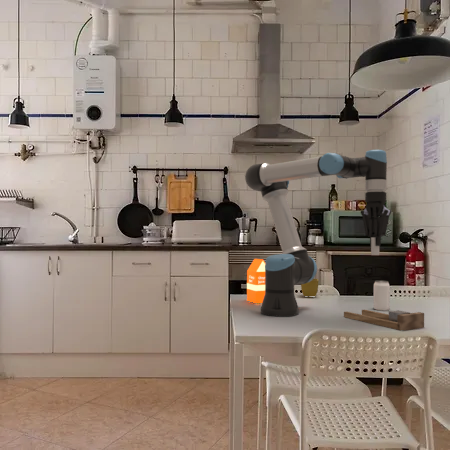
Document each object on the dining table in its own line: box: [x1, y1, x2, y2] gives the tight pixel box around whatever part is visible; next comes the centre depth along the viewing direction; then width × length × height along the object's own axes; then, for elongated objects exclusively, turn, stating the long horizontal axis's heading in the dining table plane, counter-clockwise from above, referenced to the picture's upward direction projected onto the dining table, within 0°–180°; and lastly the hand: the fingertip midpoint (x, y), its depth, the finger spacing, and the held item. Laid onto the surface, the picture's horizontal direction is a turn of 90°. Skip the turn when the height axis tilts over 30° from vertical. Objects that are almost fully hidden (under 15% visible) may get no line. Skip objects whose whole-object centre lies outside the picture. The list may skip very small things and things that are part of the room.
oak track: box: [343, 309, 425, 331], centre depth 165 cm, size 11×27×5 cm, turn 30°
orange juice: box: [246, 258, 266, 304], centre depth 208 cm, size 8×9×20 cm
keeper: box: [388, 309, 411, 322], centre depth 158 cm, size 5×5×5 cm
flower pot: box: [300, 278, 320, 297], centre depth 226 cm, size 9×9×9 cm
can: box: [373, 280, 391, 312], centre depth 191 cm, size 6×6×12 cm
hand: (375, 254), depth 168 cm, fingers closed
